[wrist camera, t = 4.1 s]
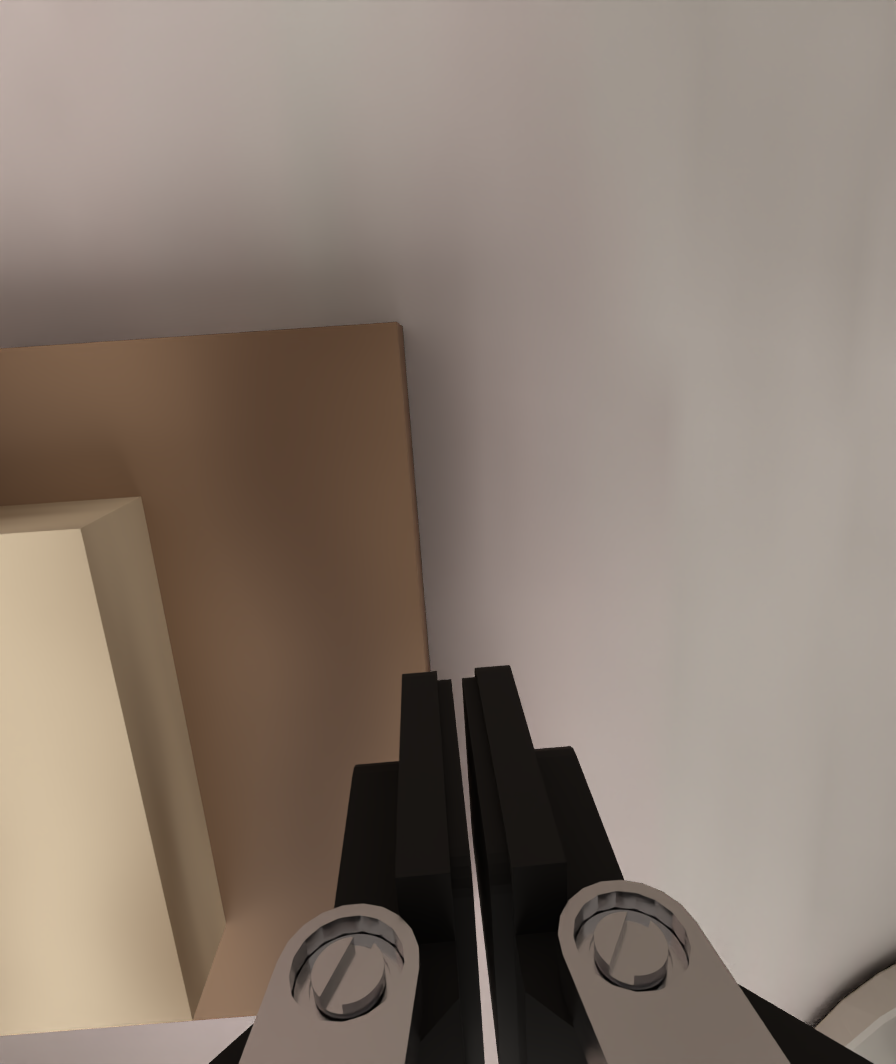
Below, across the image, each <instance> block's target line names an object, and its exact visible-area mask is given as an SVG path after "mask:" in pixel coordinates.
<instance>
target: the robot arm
mask: <svg viewBox="0 0 896 1064" xmlns="http://www.w3.org/2000/svg"><path fill="white" fill-rule="evenodd" d="M462 688H463V703H464V719H465V734H466V749H467V765H468V780H469V795H470V811H471V825H472V837H473V847H474V855H475V864H476V873H477V881H478V890H479V898H480V907H481V916H482V924H483V933H484V941H485V950H486V959H487V967H488V976H489V984H490V993H491V1002H492V1010H493V1019H494V1027H495V1036H496V1045H497V1053H498V1062H499V1064H896V964H894V965H892V966H890V967H889V968H887V969H885V970H883V971H881V972H879V973H878V974H876V975H875V976H873V977H872V978H871V979H869V980H868V981H867V982H865V983H864V984H863V985H861V986H860V987H859V988H857V989H856V990H855V991H853V992H852V993H851V994H849V995H848V996H847V997H845V998H844V999H842V1000H841V1001H840V1003H839V1004H838V1005H837V1006H836V1007H835V1008H834V1009H833V1010H832V1011H831V1012H830V1013H829V1014H828V1015H827V1016H826V1017H825V1018H824V1019H823V1020H822V1021H821V1022H820V1023H819V1024H818V1025H817V1026H816V1027H815V1028H812V1027H811V1026H809V1025H807V1024H805V1023H804V1022H802V1021H800V1020H799V1019H797V1018H795V1017H794V1016H792V1015H790V1014H788V1013H787V1012H785V1011H783V1010H782V1009H780V1008H778V1007H776V1006H775V1005H773V1004H771V1003H770V1002H768V1001H766V1000H765V999H763V998H761V997H759V996H758V995H756V994H754V993H753V992H751V991H749V990H747V989H746V988H744V987H742V986H741V985H739V984H737V982H736V981H735V979H734V978H733V976H732V975H731V973H730V972H729V970H728V969H727V967H726V966H725V964H724V963H723V961H722V960H721V958H720V957H719V955H718V954H717V952H716V951H715V949H714V948H713V946H712V945H711V943H710V942H709V940H708V939H707V937H706V935H705V934H704V932H703V931H702V929H701V928H700V926H699V925H698V923H697V922H696V921H695V920H694V918H693V917H692V916H691V915H690V914H689V913H688V912H687V910H686V909H685V908H684V907H683V906H682V905H681V904H680V903H678V902H677V901H676V900H674V899H673V898H671V897H670V896H668V895H667V894H666V893H664V892H663V891H660V890H658V889H655V888H653V887H650V886H648V885H645V884H643V883H638V882H631V881H625V880H624V878H623V876H622V873H621V870H620V868H619V865H618V863H617V860H616V857H615V855H614V852H613V850H612V847H611V844H610V842H609V839H608V837H607V834H606V831H605V829H604V826H603V823H602V821H601V818H600V816H599V813H598V810H597V808H596V805H595V803H594V800H593V797H592V795H591V792H590V790H589V787H588V784H587V782H586V779H585V777H584V774H583V771H582V769H581V766H580V764H579V761H578V758H577V756H576V754H575V752H574V749H573V748H572V747H571V746H567V747H555V748H543V749H534V747H533V743H532V740H531V736H530V733H529V730H528V726H527V723H526V719H525V716H524V712H523V709H522V705H521V702H520V698H519V695H518V691H517V688H516V685H515V681H514V678H513V674H512V671H511V668H510V665H505V666H493V667H481V668H475V677H473V678H462ZM209 1064H485V1061H484V1046H483V1031H482V1016H481V1001H480V986H479V971H478V956H477V941H476V926H475V911H474V896H473V883H472V871H471V860H470V850H469V840H468V831H467V822H466V813H465V803H464V794H463V785H462V775H461V766H460V757H459V748H458V738H457V729H456V720H455V711H454V701H453V692H452V683H451V679H449V680H437V671H433V672H420V673H408V674H402V688H401V718H400V747H399V761H393V762H381V763H369V764H358V765H355V766H354V769H353V774H352V782H351V789H350V796H349V803H348V810H347V818H346V825H345V832H344V839H343V847H342V854H341V861H340V868H339V876H338V883H337V890H336V897H335V905H334V909H332V910H329V911H326V912H323V913H321V914H320V915H318V916H317V917H315V918H314V919H312V920H311V921H309V922H307V923H306V924H304V925H303V926H302V927H301V928H300V929H299V930H298V931H297V932H296V934H295V935H294V936H293V937H292V938H291V939H290V940H289V941H288V942H287V944H286V946H285V948H284V950H283V951H282V953H281V955H280V957H279V959H278V961H277V963H276V966H275V968H274V971H273V974H272V976H271V979H270V982H269V984H268V987H267V990H266V992H265V995H264V998H263V1000H262V1003H261V1006H260V1008H259V1011H258V1014H257V1016H256V1019H255V1022H254V1024H253V1025H251V1026H250V1027H249V1028H248V1029H247V1030H246V1031H245V1032H244V1033H242V1034H241V1035H240V1036H239V1037H238V1038H237V1039H236V1040H235V1041H233V1042H232V1043H231V1044H230V1045H229V1046H228V1047H227V1048H226V1049H225V1050H223V1051H222V1052H221V1053H220V1054H219V1055H218V1056H217V1057H216V1058H214V1059H213V1060H212V1061H211V1062H210V1063H209Z"/></svg>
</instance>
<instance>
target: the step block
mask: <svg viewBox="0 0 896 1064" xmlns="http://www.w3.org/2000/svg"><path fill="white" fill-rule="evenodd" d="M127 497H141V499H142V504H143V509H144V514H145V519H146V524H147V529H148V534H149V539H150V544H151V549H152V554H153V559H154V564H155V569H156V574H157V579H158V584H159V589H160V594H161V599H162V604H163V609H164V614H165V619H166V624H167V629H168V635H169V640H170V645H171V650H172V655H173V660H174V665H175V670H176V675H177V680H178V685H179V690H180V695H181V700H182V705H183V710H184V715H185V720H186V725H187V730H188V735H189V740H190V745H191V750H192V755H193V760H194V765H195V770H196V775H197V780H198V786H199V791H200V796H201V801H202V806H203V811H204V816H205V821H206V826H207V831H208V836H209V841H210V846H211V851H212V856H213V861H214V866H215V871H216V876H217V881H218V886H219V891H220V896H221V901H222V906H223V911H224V916H225V921H226V926H225V929H224V932H223V934H222V937H221V940H220V943H219V946H218V949H217V952H216V955H215V958H214V960H213V963H212V966H211V969H210V972H209V975H208V978H207V981H206V983H205V986H204V989H203V992H202V995H201V998H200V1001H199V1004H198V1006H197V1009H196V1012H195V1015H194V1018H193V1020H206V1019H219V1018H231V1017H244V1016H257V1014H258V1011H259V1008H260V1006H261V1003H262V1000H263V998H264V995H265V992H266V990H267V987H268V984H269V982H270V979H271V976H272V974H273V971H274V968H275V966H276V963H277V961H278V959H279V957H280V955H281V953H282V951H283V950H284V948H285V946H286V944H287V942H288V941H289V940H290V939H291V938H292V937H293V936H294V935H295V934H296V932H297V931H298V930H299V929H300V928H301V927H302V926H303V925H304V924H306V923H307V922H309V921H311V920H312V919H314V918H315V917H317V916H318V915H320V914H321V913H323V912H326V911H329V910H332V909H334V905H335V897H336V890H337V883H338V876H339V868H340V861H341V854H342V847H343V839H344V832H345V825H346V818H347V810H348V803H349V796H350V789H351V782H352V774H353V769H354V766H355V765H358V764H369V763H381V762H393V761H399V747H400V718H401V688H402V674H408V673H420V672H430V662H429V650H428V637H427V625H426V612H425V600H424V588H423V575H422V563H421V550H420V538H419V525H418V513H417V500H416V488H415V476H414V463H413V451H412V438H411V426H410V413H409V401H408V389H407V376H406V364H405V351H404V339H403V326H402V325H400V324H399V323H398V322H388V323H373V324H358V325H343V326H328V327H313V328H298V329H284V330H269V331H254V332H239V333H224V334H209V335H194V336H180V337H165V338H150V339H135V340H120V341H105V342H90V343H76V344H61V345H46V346H31V347H16V348H1V349H0V506H12V505H27V504H41V503H55V502H69V501H84V500H98V499H112V498H127Z"/></svg>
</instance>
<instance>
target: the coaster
mask: <svg viewBox="0 0 896 1064" xmlns="http://www.w3.org/2000/svg"><path fill="white" fill-rule="evenodd" d="M225 926H226V921H225V916H224V911H223V906H222V901H221V896H220V891H219V886H218V881H217V876H216V871H215V866H214V861H213V856H212V851H211V846H210V841H209V836H208V831H207V826H206V821H205V816H204V811H203V806H202V801H201V796H200V791H199V786H198V780H197V775H196V770H195V765H194V760H193V755H192V750H191V745H190V740H189V735H188V730H187V725H186V720H185V715H184V710H183V705H182V700H181V695H180V690H179V685H178V680H177V675H176V670H175V665H174V660H173V655H172V650H171V645H170V640H169V635H168V629H167V624H166V619H165V614H164V609H163V604H162V599H161V594H160V589H159V584H158V579H157V574H156V569H155V564H154V559H153V554H152V549H151V544H150V539H149V534H148V529H147V524H146V519H145V514H144V509H143V504H142V499H141V497H127V498H112V499H98V500H84V501H69V502H55V503H41V504H27V505H12V506H0V1036H6V1035H18V1034H31V1033H44V1032H56V1031H69V1030H82V1029H94V1028H107V1027H120V1026H132V1025H145V1024H157V1023H170V1022H183V1021H193V1018H194V1015H195V1012H196V1009H197V1006H198V1004H199V1001H200V998H201V995H202V992H203V989H204V986H205V983H206V981H207V978H208V975H209V972H210V969H211V966H212V963H213V960H214V958H215V955H216V952H217V949H218V946H219V943H220V940H221V937H222V934H223V932H224V929H225Z"/></svg>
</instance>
